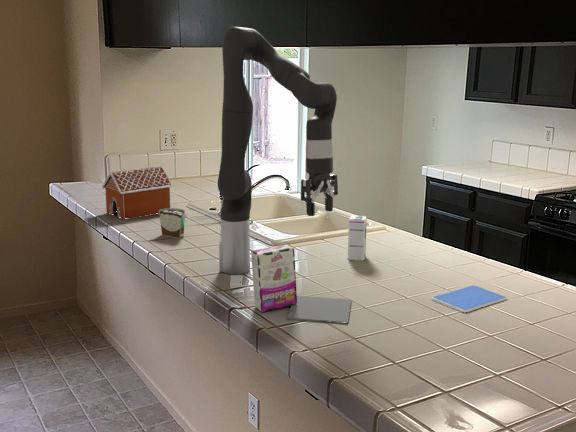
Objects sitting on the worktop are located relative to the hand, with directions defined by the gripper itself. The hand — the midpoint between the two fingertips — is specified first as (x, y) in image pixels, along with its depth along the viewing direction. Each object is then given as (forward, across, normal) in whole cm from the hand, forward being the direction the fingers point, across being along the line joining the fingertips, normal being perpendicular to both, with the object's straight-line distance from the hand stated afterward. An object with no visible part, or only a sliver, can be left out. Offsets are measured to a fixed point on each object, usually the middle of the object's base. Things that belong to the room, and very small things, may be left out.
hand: (320, 213), depth 176 cm
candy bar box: (+24, +15, -5) cm, 29 cm away
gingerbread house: (+16, -28, -121) cm, 125 cm away
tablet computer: (+27, -27, +33) cm, 50 cm away
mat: (+25, +8, +6) cm, 27 cm away
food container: (+19, -15, -80) cm, 84 cm away
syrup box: (+23, -38, -13) cm, 46 cm away
